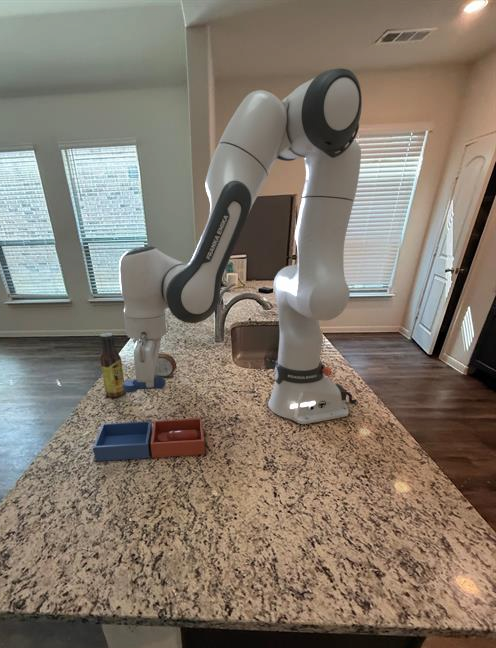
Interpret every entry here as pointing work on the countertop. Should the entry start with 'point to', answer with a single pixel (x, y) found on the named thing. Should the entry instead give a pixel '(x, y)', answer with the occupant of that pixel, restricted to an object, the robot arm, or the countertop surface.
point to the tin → (165, 365)
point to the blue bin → (123, 441)
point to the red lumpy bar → (178, 436)
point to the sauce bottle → (111, 366)
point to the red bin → (177, 446)
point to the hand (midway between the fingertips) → (151, 381)
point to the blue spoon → (142, 384)
